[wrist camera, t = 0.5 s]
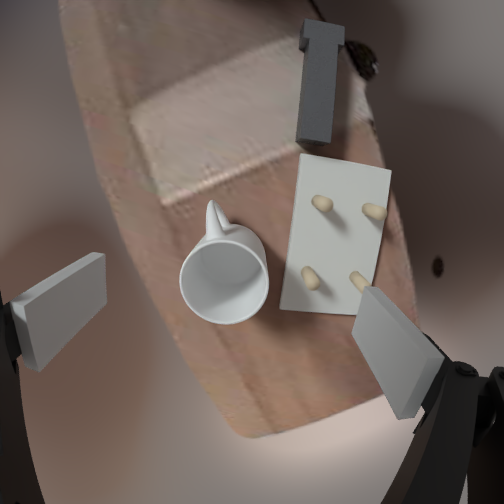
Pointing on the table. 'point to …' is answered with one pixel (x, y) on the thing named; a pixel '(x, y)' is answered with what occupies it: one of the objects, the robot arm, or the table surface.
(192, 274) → the mug
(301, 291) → the rack
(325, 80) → the grey bar
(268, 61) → the table surface
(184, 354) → the table surface
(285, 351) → the table surface
